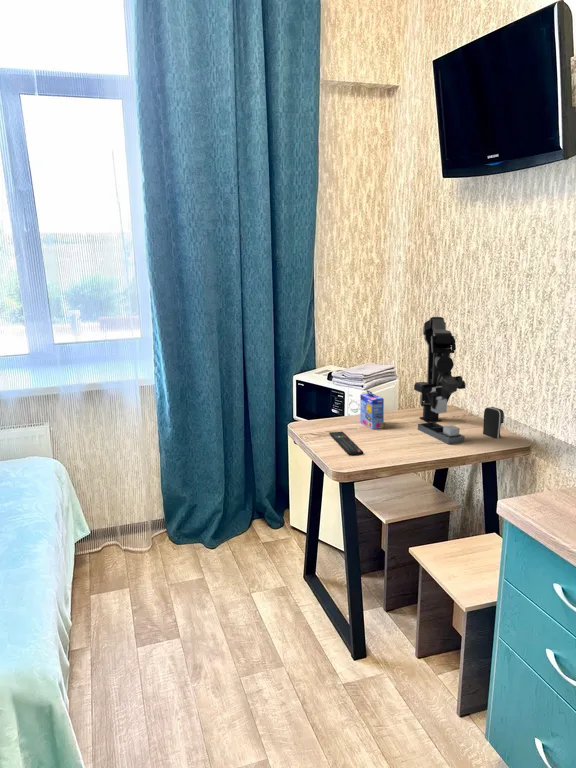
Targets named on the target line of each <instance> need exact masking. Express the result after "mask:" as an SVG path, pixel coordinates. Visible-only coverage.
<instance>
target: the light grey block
mask: <svg viewBox="0 0 576 768" xmlns="http://www.w3.org/2000/svg"><path fill="white" fill-rule="evenodd" d="M459 434H460V427H457V426H456V425H454V424H453V425H452V424H451V425H446V426H443V435H444V436H446V437H448V438H453V437H459Z"/></svg>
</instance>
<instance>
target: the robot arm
mask: <svg viewBox="0 0 576 768" xmlns="http://www.w3.org/2000/svg"><path fill="white" fill-rule="evenodd" d="M446 324H447V323H446V321H445V318H444V317H443V316H432V317H430V318H429V320H426V321H425V322H424V324H423V326H422V327H423V328H422V335H423V338H424V341H425V342H426V344H427V346H428V347H427V370H426V371H427V375H426V377H427V378H426V381H417V382H415V383H414V385H413V390H414V391H416V392H418V393H420V398H419V404H420V407H422V408H423V409H422V416H419V419H421V420H422V421H424V422H426V423H429V422H440V421H442V418H440V413H435V412H433V411H431V406H432V408H433V409H435V406H436V397H443V398H446V399H447V403H448V402H449V400H450V398H451V395H452V394H454V393H455V392H457V391H458V390H463V389H466V387H467V386H466V382H465V380H463V376H461V375H456V376H453V374H452V370H453V369H454V361H453V359H452V357H451V354H455V351H456V350H457V346H456V344H457V343H456V338H455V336H454V335H453V334H452V332H451V331H450V330H447V325H446Z"/></svg>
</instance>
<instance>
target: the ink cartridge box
mask: <svg viewBox="0 0 576 768" xmlns="http://www.w3.org/2000/svg"><path fill="white" fill-rule="evenodd" d="M359 397H360V401H359V402H360V405H359V407H360V409H359V410H360V414H359V415H360V416H359V417H360V418H359V419H360V421H359V423H360V424H361V425H364V426H366V427H367V428H368V429H371V430H376V429H377V430H378V429H383V428H384V420H385V419H384V417H385V416H384V415H385V414H384V406H385V405H384V400H385V399H384V398H383V397H382V396H379V395H376V394H374V393H373V392H372V391H370V390H368V389H366V393H362V394H360V395H359Z"/></svg>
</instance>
